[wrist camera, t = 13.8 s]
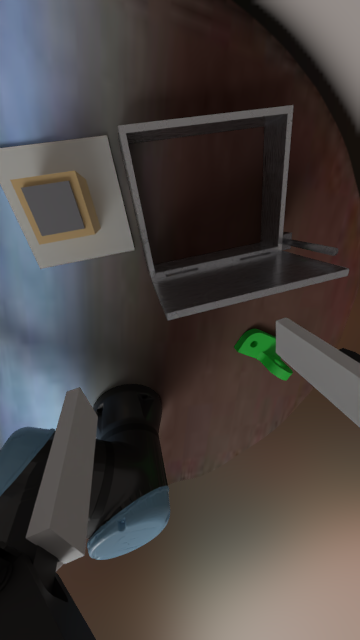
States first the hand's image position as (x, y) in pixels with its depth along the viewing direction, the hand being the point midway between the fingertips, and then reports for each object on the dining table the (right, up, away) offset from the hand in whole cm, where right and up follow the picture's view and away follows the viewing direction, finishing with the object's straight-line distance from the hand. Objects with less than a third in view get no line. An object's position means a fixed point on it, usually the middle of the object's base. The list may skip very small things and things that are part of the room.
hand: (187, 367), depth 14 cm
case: (+3, +21, +19) cm, 29 cm away
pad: (-15, +19, +16) cm, 29 cm away
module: (-15, +18, +15) cm, 28 cm away
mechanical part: (+18, -2, +36) cm, 41 cm away
